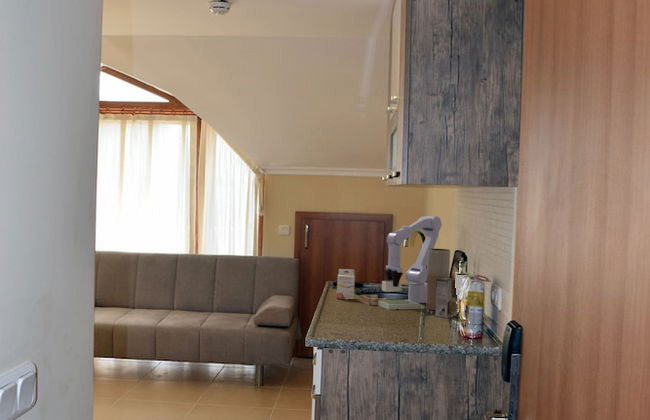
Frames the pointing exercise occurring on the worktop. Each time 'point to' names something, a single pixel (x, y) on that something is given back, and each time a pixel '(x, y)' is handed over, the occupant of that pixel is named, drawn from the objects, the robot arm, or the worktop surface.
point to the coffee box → (446, 298)
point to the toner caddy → (390, 286)
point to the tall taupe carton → (436, 273)
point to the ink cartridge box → (345, 284)
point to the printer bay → (371, 299)
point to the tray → (399, 304)
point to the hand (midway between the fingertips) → (393, 286)
